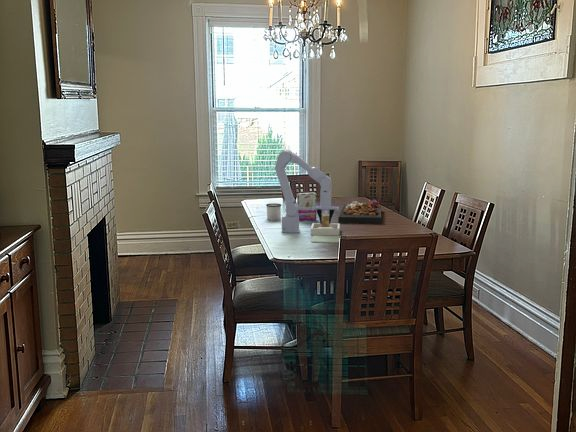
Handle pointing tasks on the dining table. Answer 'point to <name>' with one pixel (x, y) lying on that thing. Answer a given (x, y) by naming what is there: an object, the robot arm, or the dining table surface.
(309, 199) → the candy bar box
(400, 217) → the dining table surface
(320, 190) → the robot arm
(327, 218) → the wood block
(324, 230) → the white square tray
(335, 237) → the pad
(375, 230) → the dining table surface
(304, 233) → the dining table surface
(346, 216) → the food platter
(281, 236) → the dining table surface
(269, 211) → the mug
